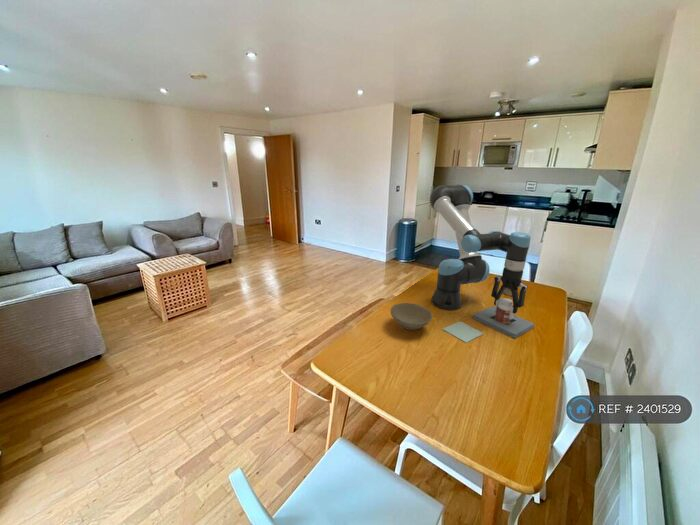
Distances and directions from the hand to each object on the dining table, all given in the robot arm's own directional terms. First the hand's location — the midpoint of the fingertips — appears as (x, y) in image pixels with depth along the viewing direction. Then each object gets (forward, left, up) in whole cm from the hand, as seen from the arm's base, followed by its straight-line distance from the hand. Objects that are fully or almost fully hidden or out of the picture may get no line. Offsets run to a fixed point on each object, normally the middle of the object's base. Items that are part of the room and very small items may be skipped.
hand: (503, 315), depth 128 cm
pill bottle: (0, 0, -4) cm, 4 cm away
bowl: (-20, -39, -4) cm, 44 cm away
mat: (-5, -22, -4) cm, 23 cm away
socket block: (0, 0, -4) cm, 4 cm away
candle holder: (-16, +35, -4) cm, 39 cm away
